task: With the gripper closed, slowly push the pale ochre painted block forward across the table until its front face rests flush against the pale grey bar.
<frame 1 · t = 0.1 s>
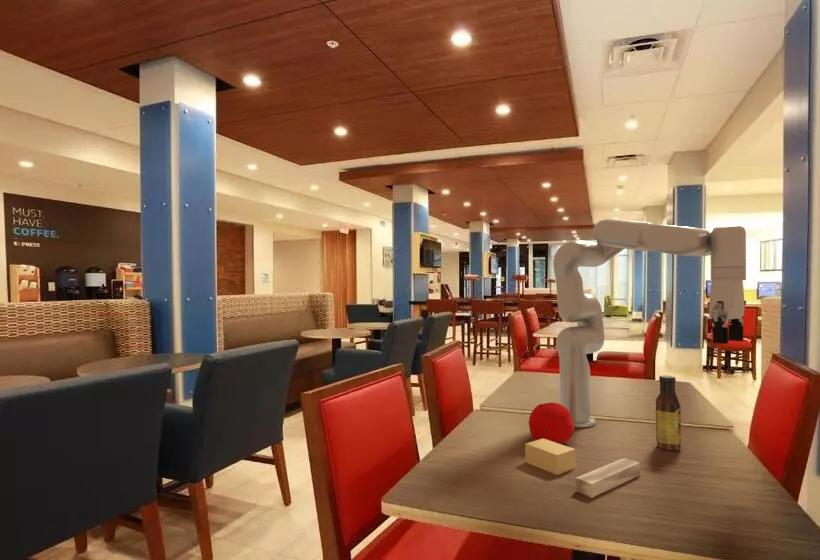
hand: (728, 341, 121), 31 cm above the table, fingers open, 9 cm apart
sauce bottle: (668, 448, 133), on the table
tomato: (551, 443, 137), on the table
block: (549, 465, 121), on the table
pale grey bar: (609, 482, 110), on the table
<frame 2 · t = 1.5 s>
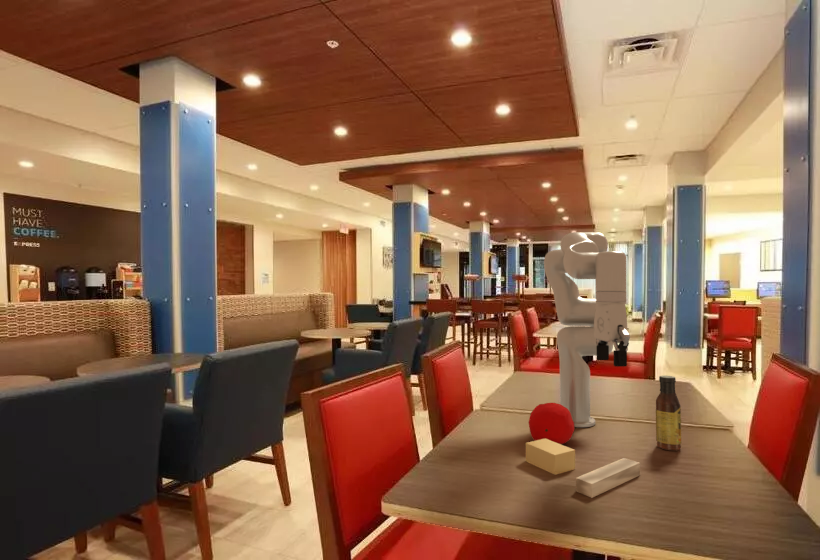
hand: (611, 362, 125), 25 cm above the table, fingers open, 9 cm apart
nothing on the table moved.
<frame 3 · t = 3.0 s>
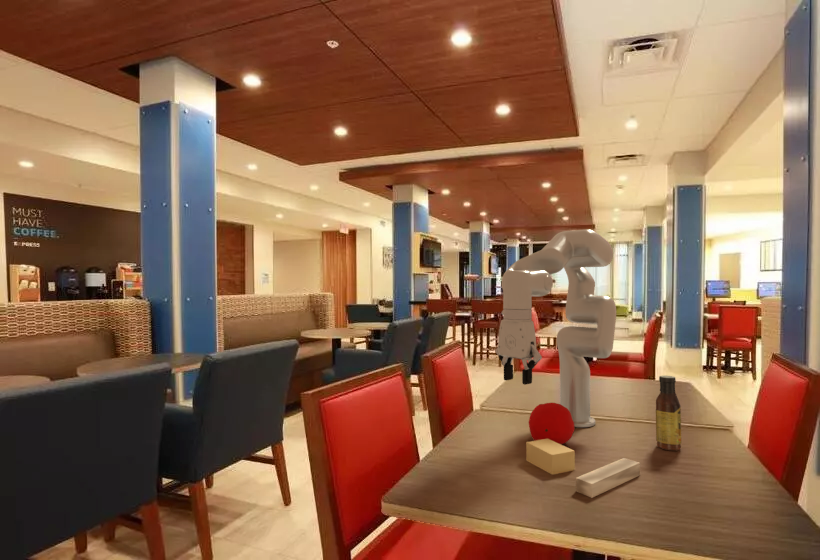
hand: (517, 381, 129), 20 cm above the table, fingers open, 5 cm apart
nothing on the table moved.
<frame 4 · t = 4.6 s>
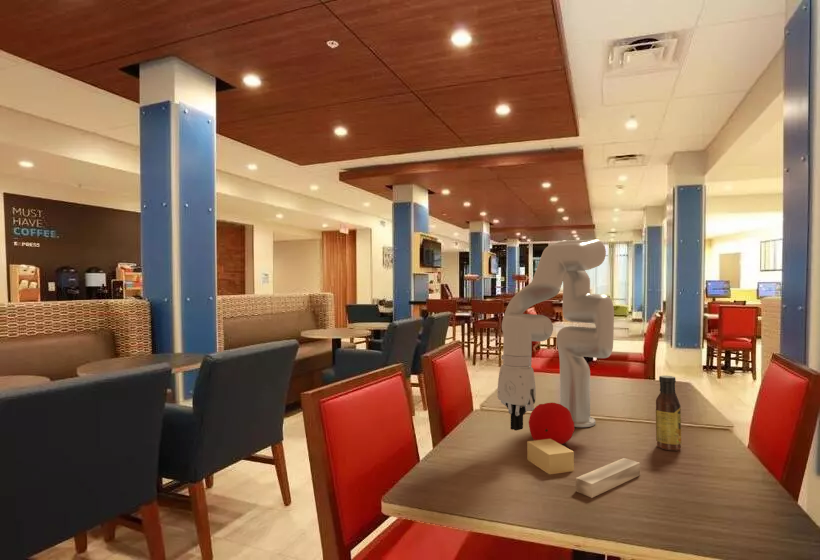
hand: (516, 428, 129), 7 cm above the table, fingers closed
nothing on the table moved.
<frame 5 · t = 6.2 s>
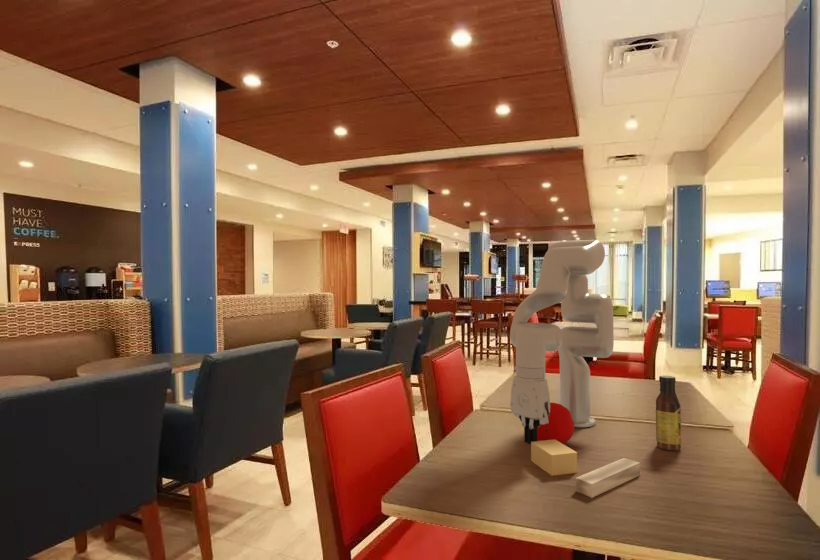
hand: (530, 442, 125), 4 cm above the table, fingers closed
block: (553, 466, 120), on the table, touching gripper
everything else where it was.
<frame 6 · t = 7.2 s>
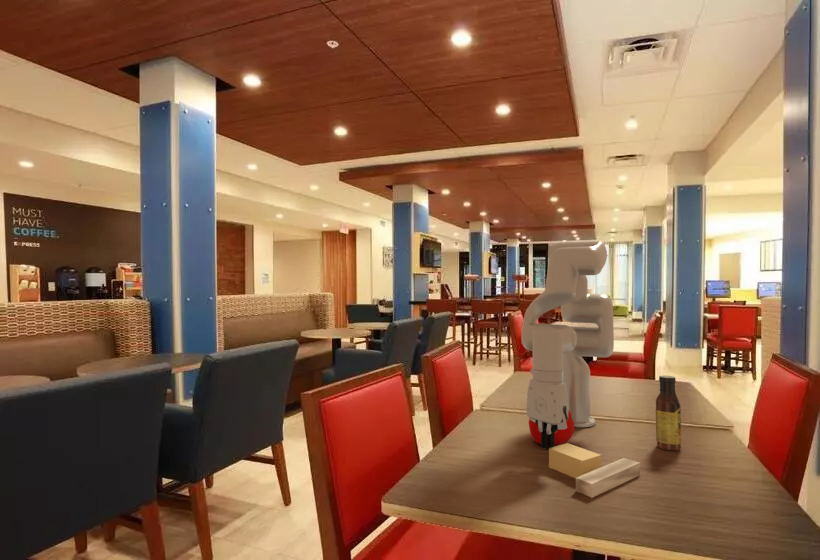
hand: (547, 447, 121), 4 cm above the table, fingers closed
block: (574, 471, 117), on the table, touching gripper
everything else where it was.
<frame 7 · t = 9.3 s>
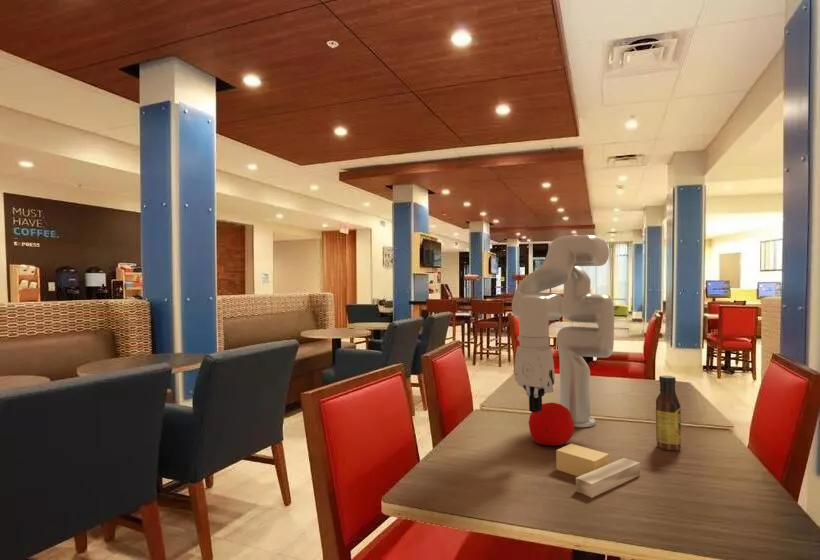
hand: (535, 410, 126), 12 cm above the table, fingers closed
block: (582, 472, 117), on the table
everything else where it was.
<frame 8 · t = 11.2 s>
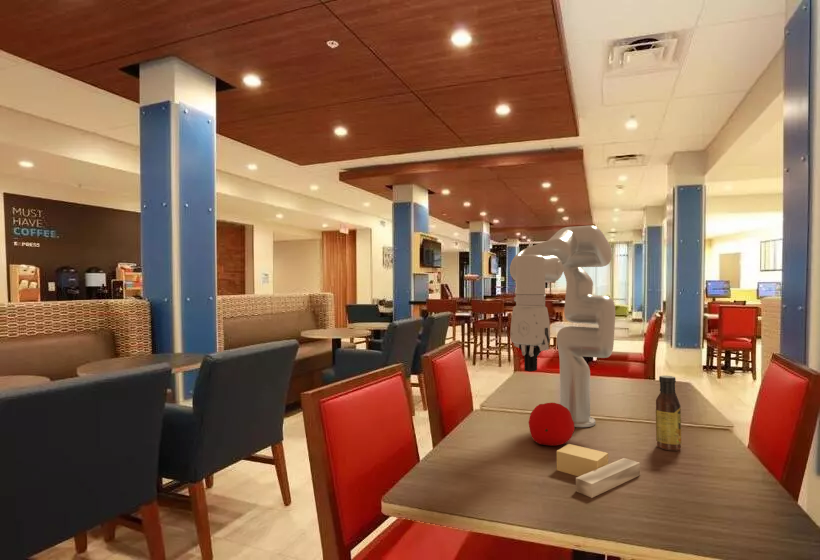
hand: (530, 370, 126), 23 cm above the table, fingers closed
nothing on the table moved.
at the end: block inside the target area on the table beside the pale grey bar (3.0 cm from its centre), on the table; block tilted 0°; block moved 7.9 cm from its start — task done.
